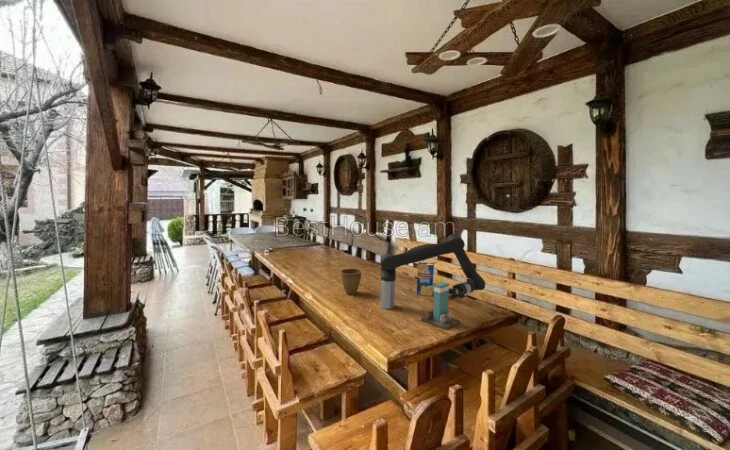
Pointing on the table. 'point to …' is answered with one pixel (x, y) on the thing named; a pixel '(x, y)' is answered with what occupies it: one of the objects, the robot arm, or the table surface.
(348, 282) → the plant pot
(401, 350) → the table surface
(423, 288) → the blue food box
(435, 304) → the book
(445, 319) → the book rack
